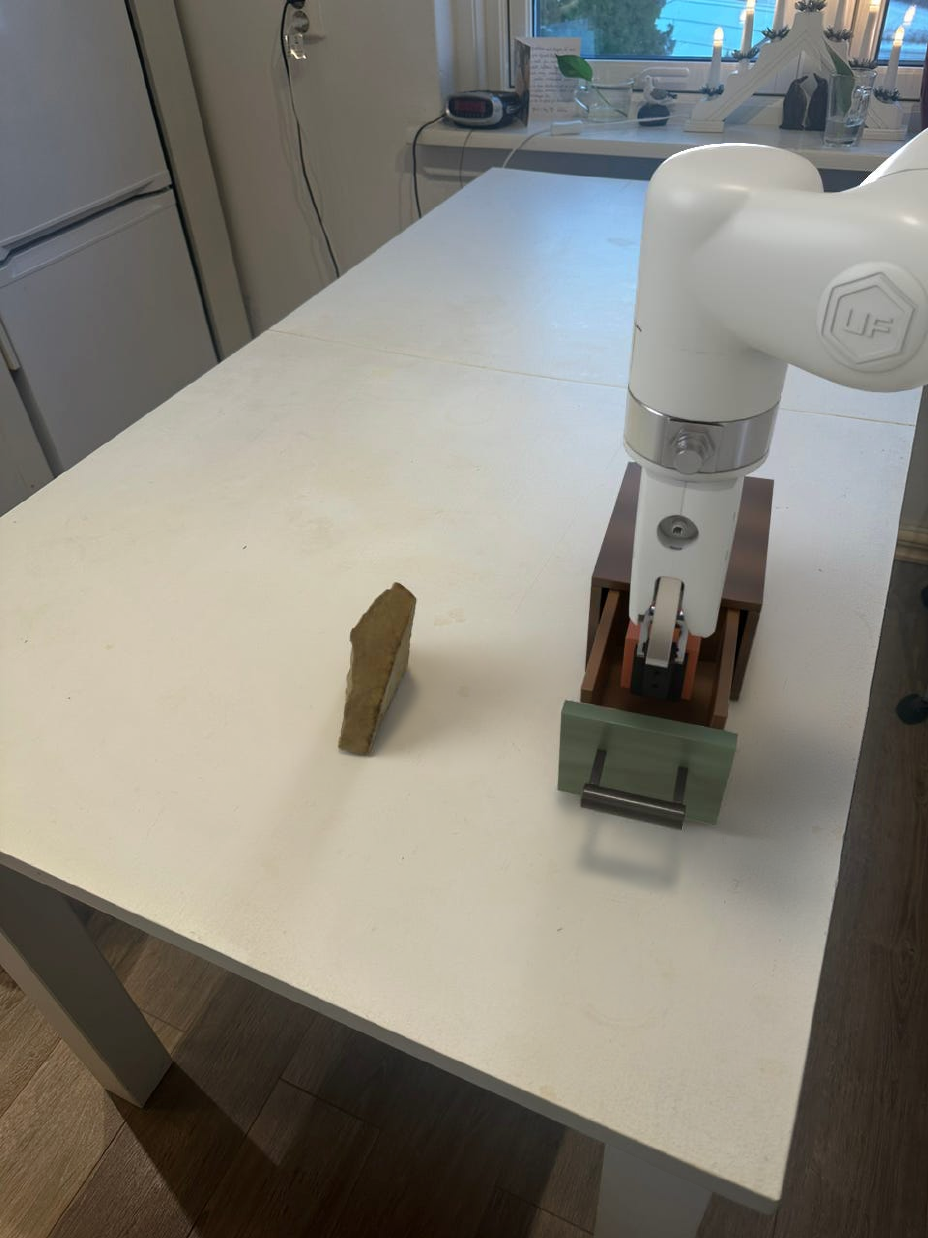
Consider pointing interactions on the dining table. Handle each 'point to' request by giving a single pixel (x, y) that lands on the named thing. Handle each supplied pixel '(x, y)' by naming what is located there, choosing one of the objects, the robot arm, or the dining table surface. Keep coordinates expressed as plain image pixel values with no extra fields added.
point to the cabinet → (741, 574)
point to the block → (691, 644)
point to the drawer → (650, 732)
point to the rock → (376, 665)
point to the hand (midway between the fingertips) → (661, 666)
